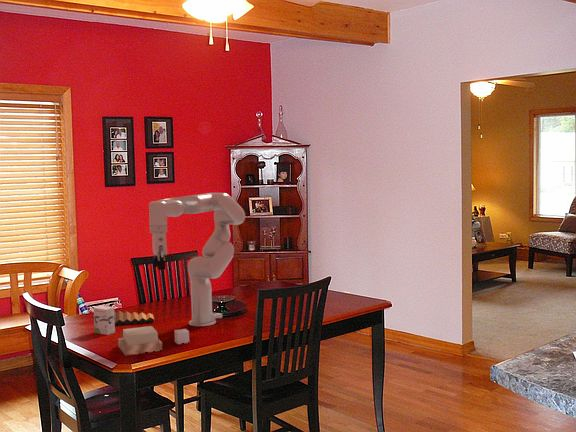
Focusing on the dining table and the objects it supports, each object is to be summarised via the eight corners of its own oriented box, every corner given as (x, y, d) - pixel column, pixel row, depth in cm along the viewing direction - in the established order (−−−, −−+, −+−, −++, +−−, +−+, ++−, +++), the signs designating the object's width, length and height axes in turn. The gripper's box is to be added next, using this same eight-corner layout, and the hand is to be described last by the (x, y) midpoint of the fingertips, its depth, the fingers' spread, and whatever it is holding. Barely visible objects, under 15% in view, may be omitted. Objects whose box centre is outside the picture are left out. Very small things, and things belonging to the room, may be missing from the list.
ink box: (93, 333, 313) (92, 307, 312) (101, 330, 317) (100, 305, 316) (108, 335, 309) (106, 309, 308) (115, 332, 313) (114, 306, 312)
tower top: (151, 335, 293) (151, 325, 293) (158, 341, 282) (157, 332, 282) (123, 338, 288) (122, 329, 288) (128, 345, 277) (127, 335, 277)
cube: (186, 340, 297) (185, 328, 296) (189, 342, 292) (188, 331, 292) (174, 341, 295) (174, 330, 295) (177, 344, 290) (177, 332, 290)
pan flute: (101, 316, 348) (100, 328, 324) (101, 310, 348) (99, 321, 324) (151, 312, 354) (154, 323, 330) (151, 306, 354) (154, 316, 329)
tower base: (154, 343, 295) (153, 333, 295) (162, 351, 282) (161, 342, 281) (118, 347, 290) (118, 338, 289) (125, 357, 276) (124, 347, 275)
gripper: (170, 230, 295) (171, 270, 297) (163, 227, 312) (164, 265, 313) (153, 231, 293) (154, 271, 294) (146, 228, 309) (148, 266, 310)
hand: (159, 268), depth 303 cm, fingers open, 9 cm apart
